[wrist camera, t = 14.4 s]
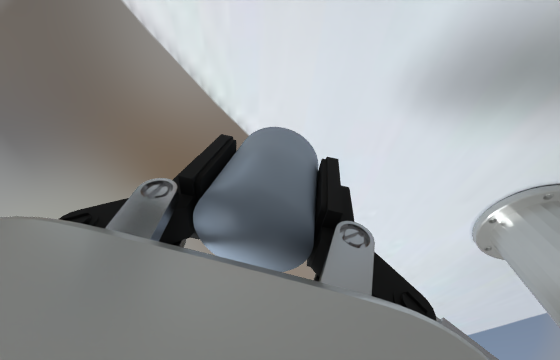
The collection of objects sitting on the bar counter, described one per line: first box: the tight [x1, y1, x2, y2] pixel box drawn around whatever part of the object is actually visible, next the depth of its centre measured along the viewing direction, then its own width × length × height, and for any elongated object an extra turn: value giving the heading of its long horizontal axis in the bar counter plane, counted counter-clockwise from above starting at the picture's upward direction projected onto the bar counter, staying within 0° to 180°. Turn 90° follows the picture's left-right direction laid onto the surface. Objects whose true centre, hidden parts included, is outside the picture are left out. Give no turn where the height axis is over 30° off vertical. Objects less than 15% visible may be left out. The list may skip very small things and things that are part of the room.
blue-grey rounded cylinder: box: [193, 127, 318, 272], centre depth 10 cm, size 4×4×5 cm
